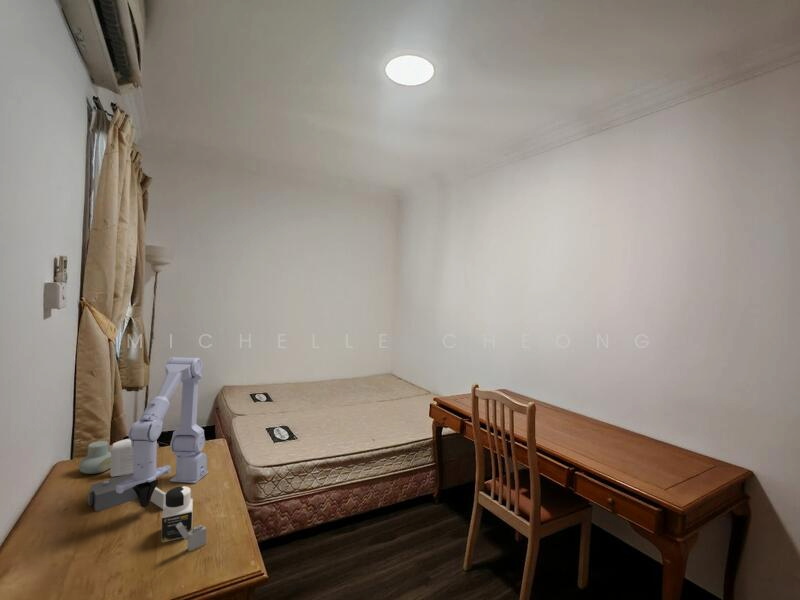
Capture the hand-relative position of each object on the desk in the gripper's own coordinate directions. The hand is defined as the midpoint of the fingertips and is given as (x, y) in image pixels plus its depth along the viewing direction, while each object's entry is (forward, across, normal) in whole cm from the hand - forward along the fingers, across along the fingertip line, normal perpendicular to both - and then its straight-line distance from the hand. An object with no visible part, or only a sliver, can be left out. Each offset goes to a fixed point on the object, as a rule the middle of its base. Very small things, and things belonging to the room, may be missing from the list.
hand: (144, 505), depth 113 cm
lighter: (+3, -3, -26) cm, 26 cm away
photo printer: (+3, +12, +32) cm, 34 cm away
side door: (+3, +6, +4) cm, 7 cm away
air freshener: (+3, +7, +43) cm, 44 cm away
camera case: (+3, +1, +17) cm, 17 cm away
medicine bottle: (+3, 0, -16) cm, 16 cm away
